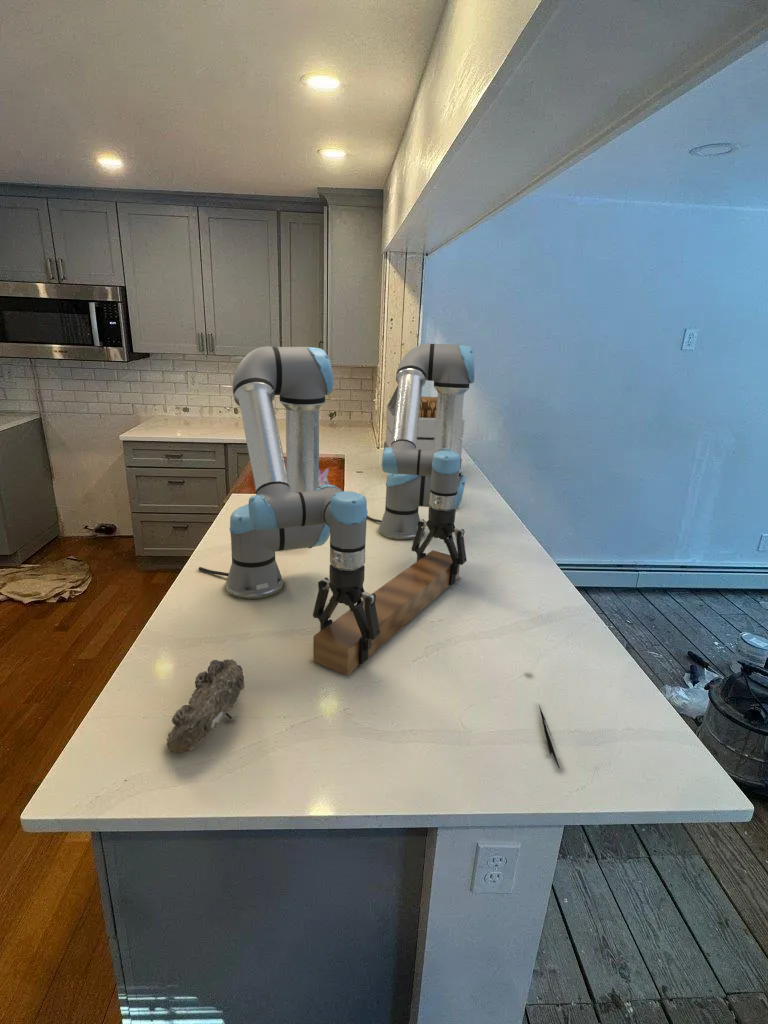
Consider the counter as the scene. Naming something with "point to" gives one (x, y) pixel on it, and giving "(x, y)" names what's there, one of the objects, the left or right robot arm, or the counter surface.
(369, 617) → the left robot arm
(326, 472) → the figurine
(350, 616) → the wooden beam
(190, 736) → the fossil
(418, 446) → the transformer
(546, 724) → the feather
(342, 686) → the counter surface
